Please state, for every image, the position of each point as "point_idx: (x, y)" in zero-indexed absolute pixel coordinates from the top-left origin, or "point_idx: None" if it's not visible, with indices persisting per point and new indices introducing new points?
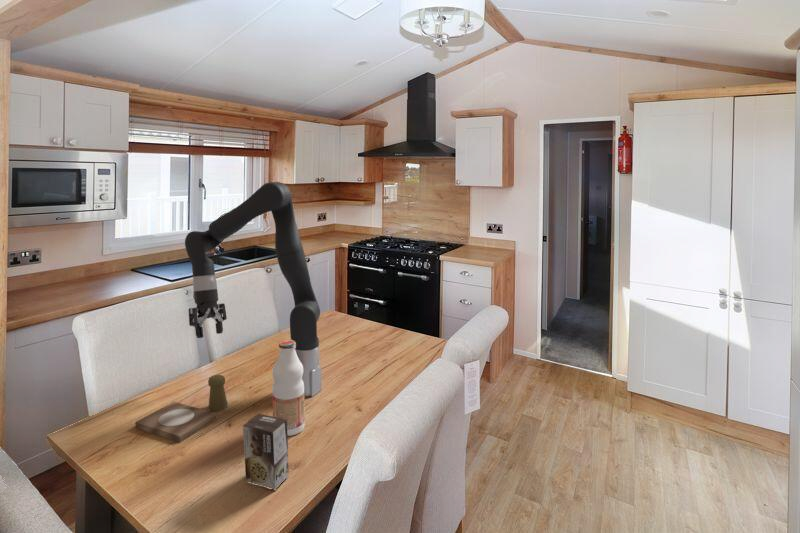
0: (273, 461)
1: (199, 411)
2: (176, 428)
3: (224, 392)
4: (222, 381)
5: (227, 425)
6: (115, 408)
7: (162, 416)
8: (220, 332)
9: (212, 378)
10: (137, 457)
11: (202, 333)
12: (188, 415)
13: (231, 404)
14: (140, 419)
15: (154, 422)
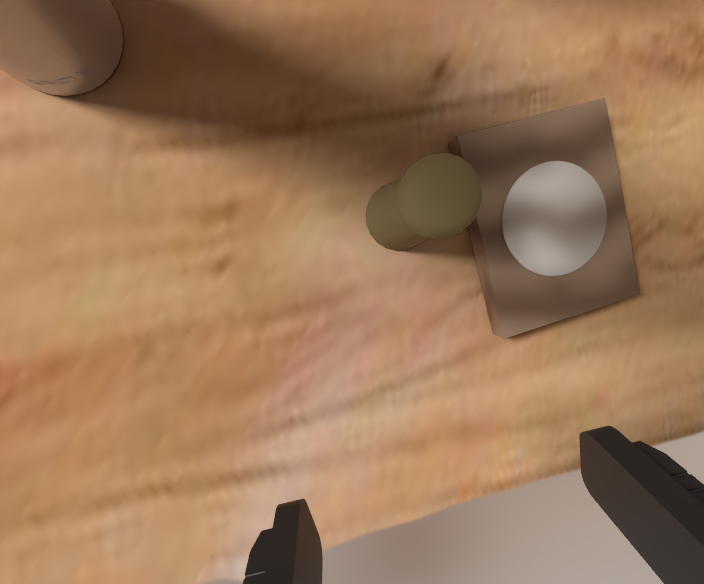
0: None
1: (486, 197)
2: (588, 151)
3: (398, 182)
4: (432, 154)
5: (447, 74)
6: None
7: (580, 259)
8: (302, 510)
9: (473, 189)
10: (684, 134)
11: (631, 462)
12: (527, 197)
13: (356, 196)
14: (624, 298)
15: (609, 245)
